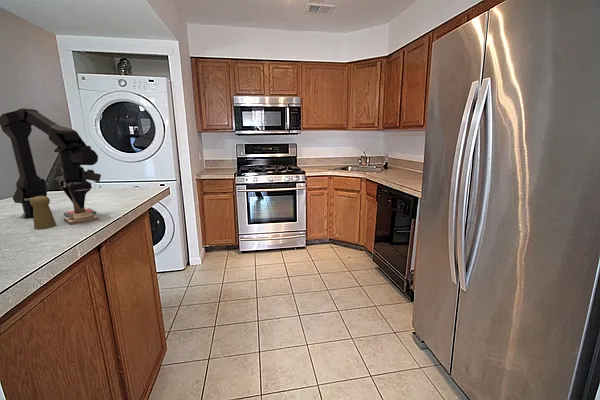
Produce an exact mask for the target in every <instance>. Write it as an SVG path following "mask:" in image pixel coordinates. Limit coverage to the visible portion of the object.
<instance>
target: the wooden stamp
mask: <svg viewBox="0 0 600 400" xmlns="http://www.w3.org/2000/svg"><path fill="white" fill-rule="evenodd" d="M71 196H72V195H71ZM72 201H73V203H72V206H73V211H75V212H72V213H70V214H71V217H72V218H73V219H74V220H78V219H83V218H89V217H90V212H89V211H87V210H85V209H86V208H85V206H84V208H80V207H79V206H78V204H77V203H76V201H75V200H74V198H73V197H72ZM72 201H71V202H72Z"/></svg>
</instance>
